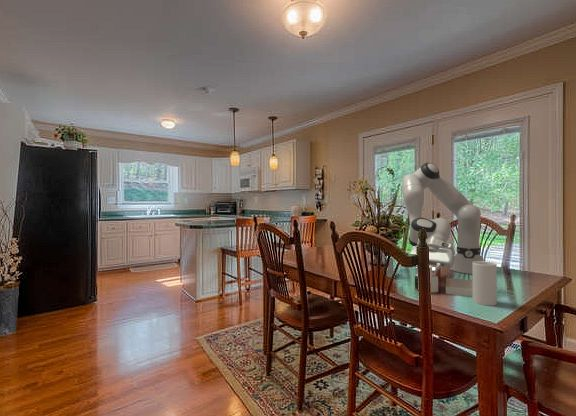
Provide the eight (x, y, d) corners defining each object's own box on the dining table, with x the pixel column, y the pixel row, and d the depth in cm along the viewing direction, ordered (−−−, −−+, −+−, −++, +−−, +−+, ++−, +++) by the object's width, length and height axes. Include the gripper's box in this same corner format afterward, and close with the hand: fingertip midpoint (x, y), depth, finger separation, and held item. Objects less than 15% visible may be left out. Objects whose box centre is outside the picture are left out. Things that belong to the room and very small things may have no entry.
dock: (446, 283, 151) (446, 277, 151) (474, 286, 145) (474, 280, 145) (445, 293, 135) (445, 286, 135) (477, 297, 129) (477, 290, 129)
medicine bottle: (414, 289, 142) (414, 264, 141) (426, 288, 144) (426, 262, 144) (425, 293, 135) (425, 267, 135) (438, 292, 137) (438, 265, 137)
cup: (468, 298, 127) (468, 260, 127) (489, 299, 127) (489, 261, 126) (479, 305, 119) (478, 265, 119) (501, 305, 118) (501, 265, 118)
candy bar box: (381, 273, 174) (381, 245, 174) (390, 273, 173) (390, 245, 173) (383, 278, 163) (383, 248, 163) (393, 278, 162) (393, 248, 162)
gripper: (411, 241, 151) (401, 263, 145) (455, 245, 136) (446, 270, 130) (415, 249, 154) (406, 271, 148) (459, 253, 139) (450, 278, 133)
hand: (425, 270), depth 139 cm, fingers closed on medicine bottle, 6 cm apart
